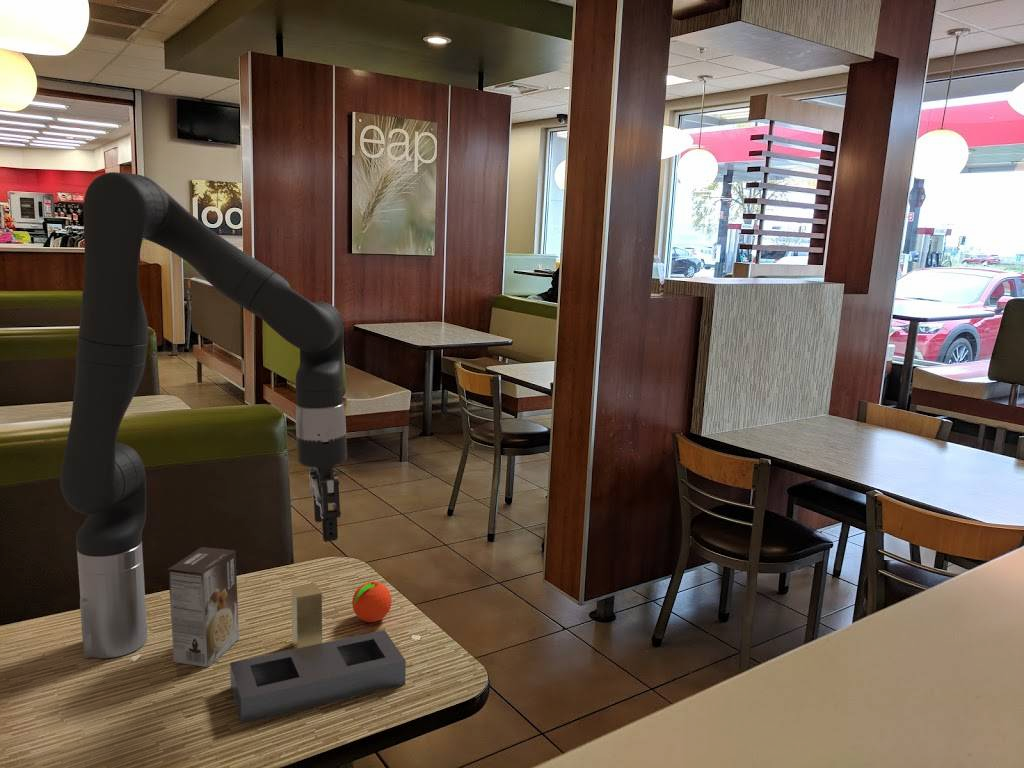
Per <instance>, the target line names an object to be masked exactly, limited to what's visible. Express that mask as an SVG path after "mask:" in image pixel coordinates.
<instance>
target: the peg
mask: <svg viewBox="0 0 1024 768" xmlns="http://www.w3.org/2000/svg"><path fill="white" fill-rule="evenodd" d="M290 590H291V591H290V592H291V593H290V594H291V595H290V596H291V633H292V634H291V638H292V639H291V640H292V643H291V644H292V645H293V648H294V649H297V648H302V647H306V646H311V645H316V644H321V643H323V606H322V605H323V597H322V596H323V593H322V591H321V589H320V588H319V586H318V584H317V583H316V582H314V583H309V584H302V585H298V586H297V585H296V586H292V587H291V589H290Z"/></svg>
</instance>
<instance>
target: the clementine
mask: <svg viewBox="0 0 1024 768" xmlns="http://www.w3.org/2000/svg"><path fill="white" fill-rule="evenodd" d="M392 599H393V598H392V595H391V593H390V590H389V589H388V588H387V586H386V585H384V584H382V583H380V582H378V581H368V582H364V583H363V584H360V586H358V588H357V589H356V590H355V592H354V593H353V595H352V600H351V605H352V610H353V612H354V615H356V616H357V617H358V618H359V619H360V620H361V621H363V622H367V623H375V622H378V621H380V620H382V619H384V618H385V617H387V615H388V614H389V612H390V610H391V607H392V601H393V600H392Z"/></svg>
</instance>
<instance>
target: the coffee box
mask: <svg viewBox="0 0 1024 768" xmlns="http://www.w3.org/2000/svg"><path fill="white" fill-rule="evenodd" d="M236 552H237V551H236V550H231V549H224V548H215V547H214V548H213V547H206V546H201V547H199V548H198V549H196V550H195V551H193V552H191V553H190V554H188V555H187V556H186V557H184V558H183V559H181V560H180V561H178V562H177V563H175V564H174V565H172V566H171V567H169V568H168V569H167V572H168V586H169V587H168V590H169V602H170V605H169V606H170V620H171V621H170V622H171V637H172V652H173V653H172V654H173V657H172V658H173V662H174V663H177V664H183V665H190V666H191V665H192V666H197V667H203V668H209V667H210V666H212V664H214V663H215V662H216V661H217V660H218V659H219V658H220V657H221V656H222V655H223V654H225V652H227V651H228V650H229V649H231V647H232V646H233V645H234V644H235V643H236V642H237V641H239V640H240V629H239V605H238V584H237V583H238V579H237V578H238V577H237V562H236V561H237V558H236V557H237V556H236Z"/></svg>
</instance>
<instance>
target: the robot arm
mask: <svg viewBox="0 0 1024 768" xmlns="http://www.w3.org/2000/svg"><path fill="white" fill-rule="evenodd" d="M82 214H83V240H84V242H83V243H84V272H83V273H84V274H83V275H84V276H83V285H82V294H81V295H82V296H81V308H80V309H81V310H80V319H79V320H80V321H79V328H78V337H77V347H76V348H77V349H76V366H75V367H76V371H75V381H74V388H73V389H74V390H73V399H72V409H71V416H70V417H71V418H70V424H69V429H68V435H67V439H66V444H65V449H64V453H63V458H62V463H61V468H60V477H59V480H60V483H59V485H60V490H61V493H62V496H63V499H64V500H65V502H66V503H67V505H68V507H70V508H71V509H72V510H74V511H75V512H76V513H79V514H83V515H87V518H86V519H85V521H84V522H83V524H82V525H81V526H80V528H79V529H77V530H78V531H77V533H76V536H75V537H76V538H75V541H76V544H75V545H76V555H77V568H78V581H79V582H78V583H79V595H80V597H79V598H80V599H79V608H80V610H79V611H80V622H81V623H80V624H81V636H82V637H81V638H82V647H83V648H82V649H83V658H84V659H88V658H97V659H111V658H112V659H113V658H117V657H122V656H124V655H128V654H131V653H133V652H135V651H137V650H139V649H141V648H142V647H143V646H144V645H145V644H146V643H147V640H148V625H147V609H146V608H147V607H146V592H145V591H146V590H145V589H146V588H145V573H144V572H145V571H144V556H143V540H142V538H143V536H142V534H143V529H144V527H145V525H146V519H147V477H146V470H145V465H144V462H143V460H142V459H141V457H140V455H139V454H138V452H137V451H136V450H135V449H134V448H132V446H130V445H128V444H126V443H121V442H118V441H117V440H118V434H119V430H120V426H121V424H122V421H123V418H124V416H125V415H126V412H127V410H128V408H129V406H130V405H131V402H132V400H133V398H134V397H135V394H136V393H137V390H138V389H139V386H140V383H141V382H142V378H143V376H144V372H145V367H146V362H147V360H146V359H147V353H148V341H149V323H148V318H147V314H146V310H145V306H144V303H143V299H142V296H141V290H140V286H139V264H140V259H141V258H140V257H141V249H142V244H143V240H144V239H145V240H147V241H149V242H151V243H154V244H156V245H158V246H160V247H162V248H164V249H166V250H168V251H170V252H172V253H174V254H175V255H176V256H178V257H180V258H181V259H183V260H184V261H185V262H186V263H188V264H189V265H191V266H192V268H193V269H195V270H196V271H197V272H198V273H199V274H200V275H201V277H203V278H204V280H206V281H207V282H208V283H209V284H210V285H211V286H213V288H215V289H216V290H217V291H218V292H220V293H221V294H223V295H224V296H225V297H227V298H228V299H229V300H231V301H233V302H234V303H236V304H237V305H239V306H240V307H241V308H243V309H245V310H246V311H247V312H250V313H251V314H253V315H255V316H257V317H258V318H260V319H261V320H262V321H263V322H264V323H266V325H267V326H269V327H270V328H271V329H272V330H273V331H274V332H276V333H277V335H279V336H280V337H281V338H283V339H284V340H285V341H287V342H288V343H289V344H291V345H292V346H294V347H296V348H297V349H299V367H298V368H297V371H296V374H295V398H296V399H295V400H296V411H295V412H296V413H295V432H296V434H295V435H296V451H297V452H296V453H297V462H298V464H300V465H302V466H304V467H308V468H309V472H308V478H309V491H310V492H311V498H312V500H313V513H314V514H313V515H314V521H315V522H316V523H321V529H322V530H321V532H322V539H323V541H324V542H334V541H335V542H336V541H337V540H338V538H339V535H338V531H339V530H338V518H340V517H341V515H342V512H341V504H340V487H339V485H340V480H339V474H338V473H336V471H335V470H336V469H334V467H336V466H337V465H341V464H343V463H344V462H345V461H346V460H347V458H348V449H347V448H348V447H347V446H348V445H347V442H348V441H347V424H346V423H347V421H346V418H347V417H346V412H345V407H344V406H345V405H344V388H343V377H342V367H343V366H342V364H343V356H344V355H343V354H344V340H345V339H344V338H345V336H344V334H345V329H344V327H345V326H344V321H343V318H342V315H341V313H340V312H339V310H338V308H336V307H335V306H334V305H332V304H330V303H328V302H326V301H324V302H323V301H314V302H312V301H311V300H308V299H307V298H305V297H304V296H303V295H301V294H300V293H298V292H297V290H294V289H293V288H291V285H290V283H289V282H288V281H287V280H286V279H285V277H283V276H282V275H280V274H279V273H277V272H275V271H274V270H272V269H271V268H270V267H268V266H267V265H266V264H265V265H264V264H263V263H262V262H260V261H259V260H257V259H256V258H254V257H252V255H250V254H247V252H245V251H243V250H242V249H240V248H239V247H237V246H236V245H234V244H233V243H231V242H230V241H227V240H226V239H225V238H223V237H222V236H221V235H219V234H217V233H216V232H214V231H213V230H212V229H210V227H208V226H207V225H206V224H204V223H202V222H201V221H200V220H199V219H198V218H197V217H196V216H194V215H193V214H191V212H189V211H188V210H187V209H186V208H185V207H184V206H183V205H181V204H180V203H179V201H177V200H176V199H175V198H173V196H171V194H169V192H168V191H166V190H164V189H163V188H162V187H161V186H160V185H159V184H158V183H156V181H154V180H152V179H151V178H149V177H147V176H143V175H141V174H135V173H124V172H118V171H117V172H115V171H113V172H106V173H103V174H102V173H101V174H100V175H98V176H96V178H94V179H93V180H92V181H91V183H90V184H89V185H88V187H87V189H86V191H85V195H84V198H83V213H82ZM329 505H332V508H333V509H329Z"/></svg>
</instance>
